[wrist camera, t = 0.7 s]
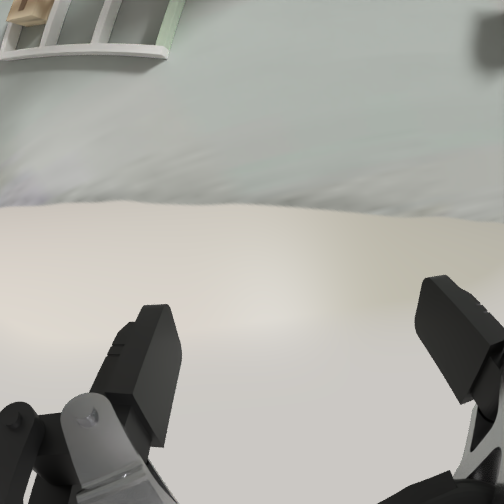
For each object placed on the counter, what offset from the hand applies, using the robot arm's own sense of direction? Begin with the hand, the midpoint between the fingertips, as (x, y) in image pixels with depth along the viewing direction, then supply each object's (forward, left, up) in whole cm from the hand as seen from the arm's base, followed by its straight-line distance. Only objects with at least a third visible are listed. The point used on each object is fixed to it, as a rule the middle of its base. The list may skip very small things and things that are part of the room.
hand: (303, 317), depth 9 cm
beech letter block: (-18, -34, -27) cm, 47 cm away
